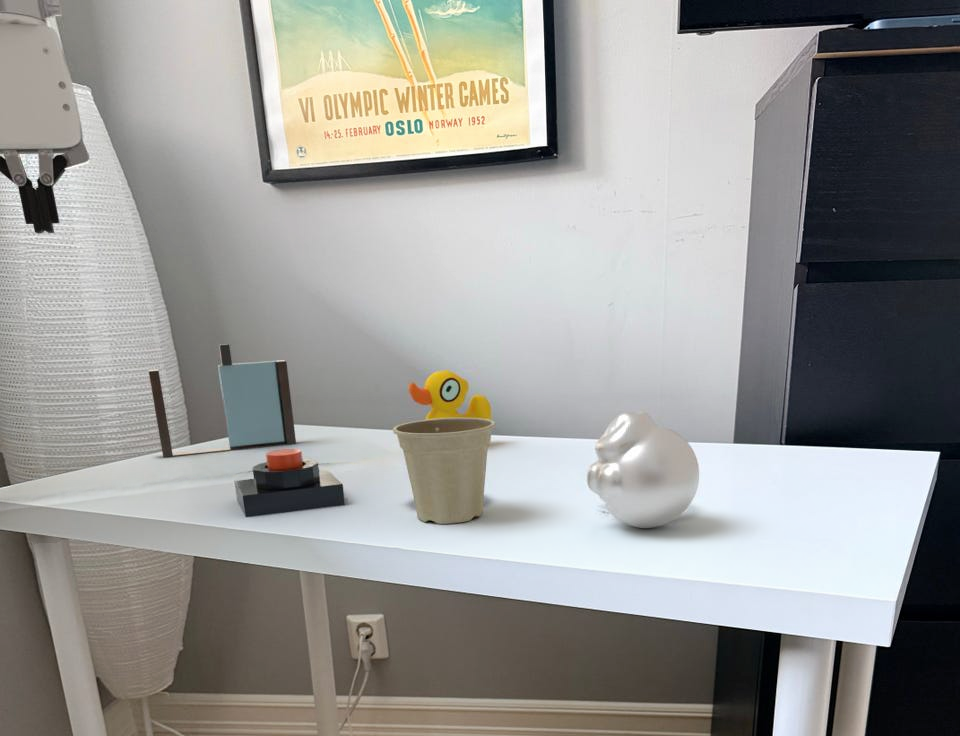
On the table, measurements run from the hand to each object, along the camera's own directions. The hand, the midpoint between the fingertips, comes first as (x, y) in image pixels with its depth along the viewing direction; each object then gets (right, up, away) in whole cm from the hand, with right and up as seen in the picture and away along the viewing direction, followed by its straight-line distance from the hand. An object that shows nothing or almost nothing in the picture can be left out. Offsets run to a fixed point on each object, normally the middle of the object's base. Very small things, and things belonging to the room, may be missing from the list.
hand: (44, 232), depth 91 cm
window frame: (+10, -16, +32) cm, 37 cm away
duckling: (+39, -15, +32) cm, 53 cm away
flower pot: (+40, -28, -2) cm, 49 cm away
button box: (+23, -26, +6) cm, 35 cm away
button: (+23, -22, +5) cm, 32 cm away
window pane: (+13, -14, +31) cm, 37 cm away
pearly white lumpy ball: (+57, -30, -9) cm, 65 cm away
